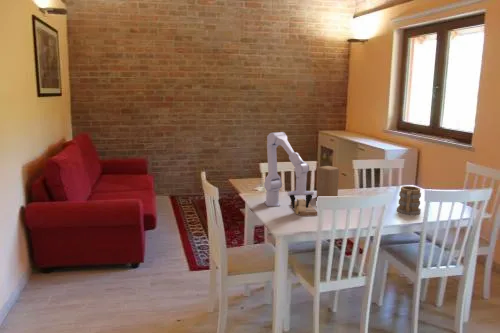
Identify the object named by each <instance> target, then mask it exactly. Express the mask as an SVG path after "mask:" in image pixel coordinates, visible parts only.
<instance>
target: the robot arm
mask: <svg viewBox="0 0 500 333" xmlns="http://www.w3.org/2000/svg"><path fill="white" fill-rule="evenodd" d="M266 140H267V141H266V142H267V143H266V151H267V156H266V157H267V170H268V172H267V176H266V177H265V178H264V183H263V184H264V186H263V187H264V189H265V191H266V192H265V194H266V197H265V200H264V204H265V205H266V207H279V206H281V204H280V203H279V202H280V201H279V199H280V190H281V188H282V186H283V182H282V178H281V175H279V173H278V160H277V159H278V157H277V148H278V147H279V146H281V147H282V148H283V149H284V151H285V152H286V153H287V155H288V159H289V161H290V163H291V164H292V166H294V172H295V178H296V180H295V190H294V191H288V192H287V196H288V197H289V198H290V203H291V202H292V206H291V207H292V209H294V208H295V201H296V197H295V196H305V201H306V208H308V205H309V204H310V202H311V200H312V198H313V196H314V195H315V192H314V191H310V190H309V191H308V190H307V178H308V172H309V171H310V166H309V163H308V162H305V160H303V159H302V157H301V156H300V153H299V152H297V151H296V152H295V151H294V149H293V148H292V145H291V144H290V142H289V140H288V135H287V134H286V132H284V131H280V132H279V131H277V132H270V133H269V134H267V136H266Z"/></svg>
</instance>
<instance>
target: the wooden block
mask: <svg viewBox="0 0 500 333" xmlns="http://www.w3.org/2000/svg"><path fill="white" fill-rule="evenodd" d="M339 177H340V168H339V167H336V166H331V165H324V166H319V167H317V179H316V181H317V182H316V198H318V196H338V195H339V180H340V178H339ZM338 197H339V196H338Z"/></svg>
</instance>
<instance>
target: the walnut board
mask: <svg viewBox="0 0 500 333" xmlns="http://www.w3.org/2000/svg"><path fill="white" fill-rule="evenodd" d="M295 204H297V200H295ZM290 205H291V207H292V202H291V201H290ZM293 209H294V210H295V208H293ZM297 215H299V216H300V217H303V216H307V217H308V216H318V211H317V210H316V208H314V207H313V206H312V205H311V203H309V205H308V208H306V211H300V212H299V213H298V214H297Z"/></svg>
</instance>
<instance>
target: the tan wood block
mask: <svg viewBox="0 0 500 333" xmlns="http://www.w3.org/2000/svg"><path fill="white" fill-rule="evenodd" d="M296 201H297V204H295V209H294V213H295V215H299V214H298V213H299V212H300V211H306V199H305V198H296Z"/></svg>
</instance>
